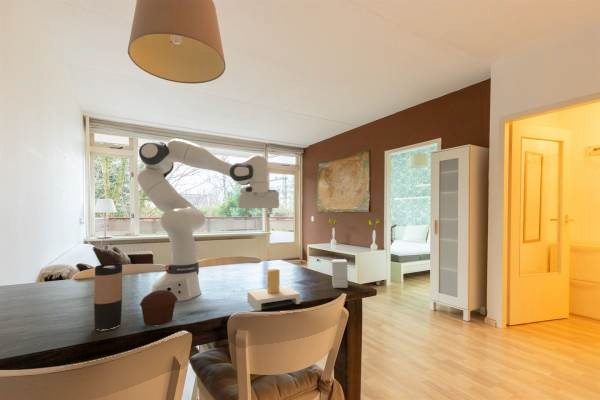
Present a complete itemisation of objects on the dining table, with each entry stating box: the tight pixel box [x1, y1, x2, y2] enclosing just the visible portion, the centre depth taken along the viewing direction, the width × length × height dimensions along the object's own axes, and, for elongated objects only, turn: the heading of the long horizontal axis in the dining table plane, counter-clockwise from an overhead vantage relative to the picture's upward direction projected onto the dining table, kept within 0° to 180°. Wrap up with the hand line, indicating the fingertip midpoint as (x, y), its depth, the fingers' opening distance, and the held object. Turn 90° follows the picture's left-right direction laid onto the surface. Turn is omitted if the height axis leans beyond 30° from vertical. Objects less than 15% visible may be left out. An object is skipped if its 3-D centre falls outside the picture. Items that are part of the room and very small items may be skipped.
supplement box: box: [331, 258, 349, 289], centre depth 140 cm, size 7×7×13 cm
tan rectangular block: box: [266, 268, 281, 294], centre depth 116 cm, size 5×5×9 cm
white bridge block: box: [247, 285, 301, 312], centre depth 116 cm, size 18×13×4 cm
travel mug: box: [93, 262, 123, 330], centre depth 93 cm, size 8×8×20 cm
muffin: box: [139, 290, 178, 326], centre depth 98 cm, size 12×11×10 cm
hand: (259, 217), depth 137 cm, fingers open, 8 cm apart
